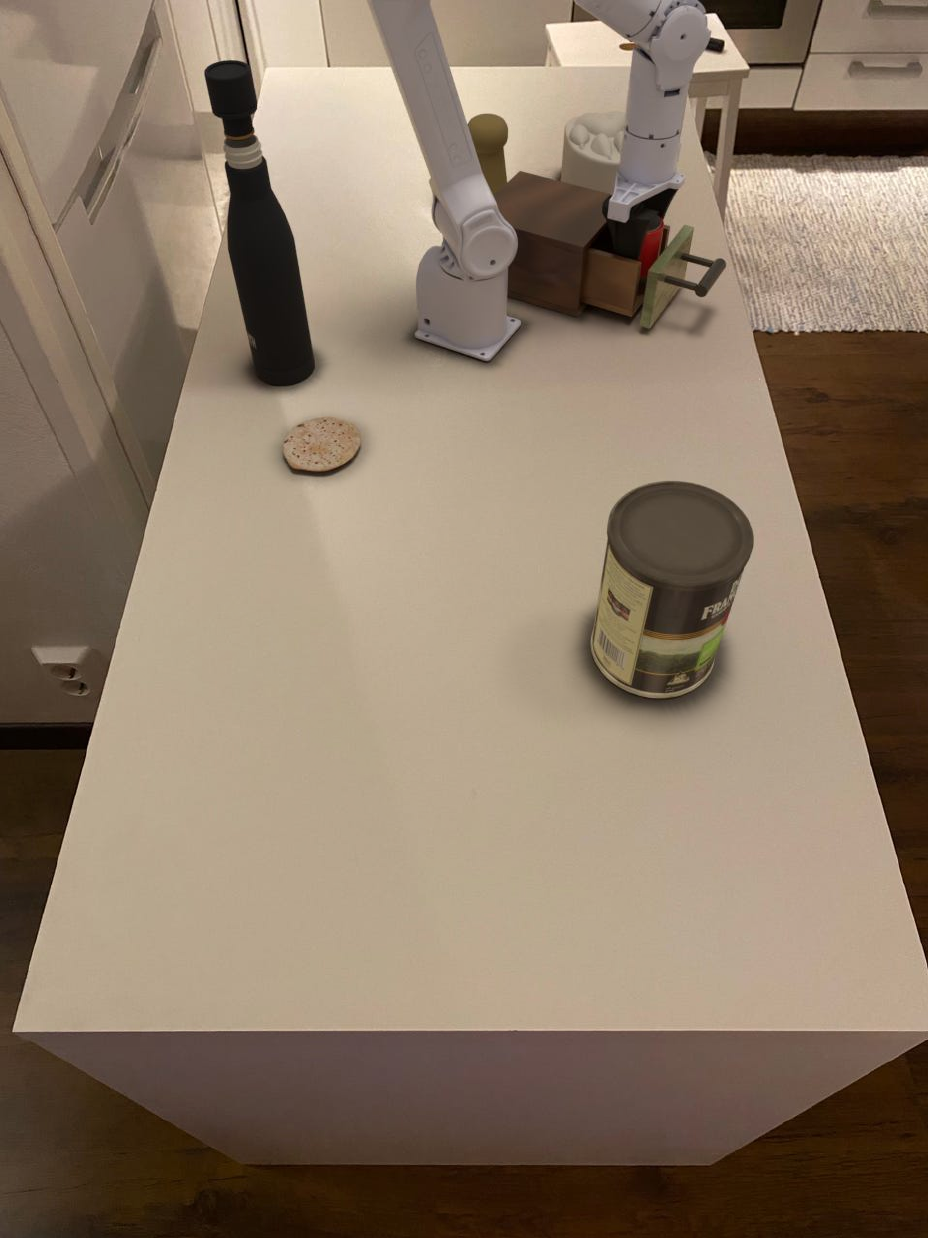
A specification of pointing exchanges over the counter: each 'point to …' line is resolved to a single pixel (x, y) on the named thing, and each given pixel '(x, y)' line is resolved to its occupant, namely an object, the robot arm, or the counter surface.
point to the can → (651, 245)
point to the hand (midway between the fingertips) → (635, 252)
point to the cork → (490, 148)
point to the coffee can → (668, 586)
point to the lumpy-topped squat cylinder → (593, 150)
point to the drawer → (623, 288)
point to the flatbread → (321, 444)
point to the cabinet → (550, 239)
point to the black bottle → (259, 237)
